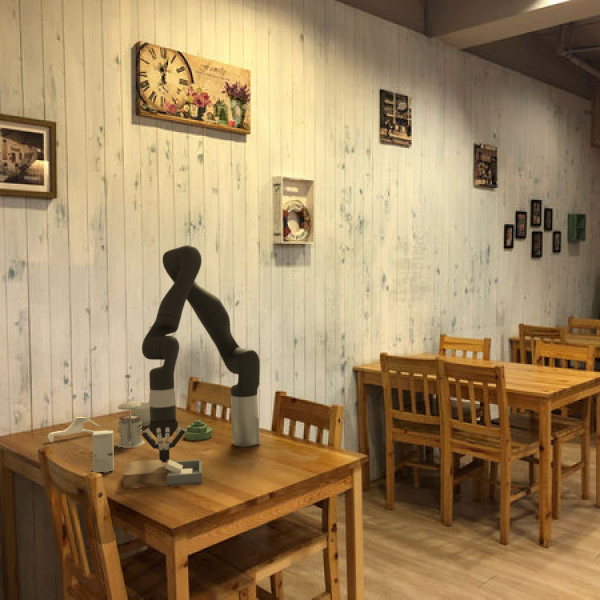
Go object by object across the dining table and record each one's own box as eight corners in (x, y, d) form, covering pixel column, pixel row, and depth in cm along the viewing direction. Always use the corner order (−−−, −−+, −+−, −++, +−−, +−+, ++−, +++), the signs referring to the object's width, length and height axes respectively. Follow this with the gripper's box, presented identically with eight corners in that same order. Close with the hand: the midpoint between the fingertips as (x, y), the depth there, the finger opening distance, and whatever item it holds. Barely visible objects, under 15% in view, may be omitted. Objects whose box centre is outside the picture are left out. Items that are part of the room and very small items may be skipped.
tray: (202, 468, 196) (201, 459, 196) (202, 483, 183) (201, 473, 183) (169, 471, 195) (168, 461, 194) (166, 486, 182) (166, 475, 182)
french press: (146, 439, 231) (143, 370, 229) (143, 448, 220) (140, 376, 218) (118, 441, 229) (114, 372, 228) (114, 450, 218) (111, 378, 216)
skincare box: (93, 474, 194) (91, 434, 193) (94, 469, 199) (92, 431, 198) (114, 471, 196) (112, 433, 195) (114, 467, 200) (113, 429, 199)
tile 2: (177, 469, 190) (177, 474, 190) (176, 474, 186) (176, 479, 186) (192, 468, 191) (192, 473, 191) (191, 473, 186) (191, 478, 186)
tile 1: (180, 470, 189) (183, 465, 189) (179, 474, 185) (181, 470, 185) (166, 463, 189) (169, 459, 189) (165, 468, 184) (167, 463, 184)
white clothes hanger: (91, 450, 241) (45, 441, 230) (100, 420, 243) (56, 410, 232) (93, 451, 239) (47, 442, 228) (102, 421, 242) (57, 411, 230)
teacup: (170, 424, 251) (169, 404, 251) (141, 430, 243) (140, 410, 242) (151, 417, 262) (150, 398, 262) (123, 423, 254) (122, 404, 253)
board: (169, 471, 194) (168, 459, 194) (166, 485, 182) (166, 471, 182) (128, 474, 192) (128, 461, 192) (123, 489, 180) (123, 475, 180)
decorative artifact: (191, 442, 226) (217, 437, 231) (191, 423, 225) (216, 418, 231) (180, 436, 234) (204, 431, 239) (179, 417, 233) (204, 413, 239)
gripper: (185, 399, 191) (187, 456, 192) (140, 402, 189) (142, 459, 190) (185, 405, 184) (187, 464, 185) (138, 407, 182) (140, 467, 183)
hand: (164, 461), depth 187 cm, fingers closed
